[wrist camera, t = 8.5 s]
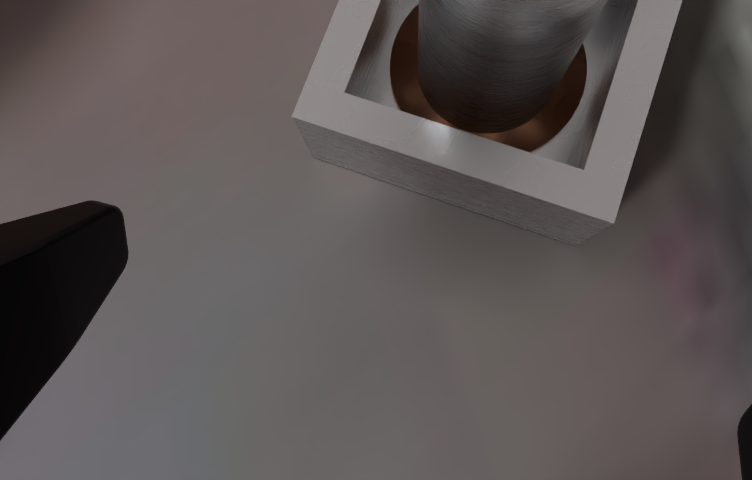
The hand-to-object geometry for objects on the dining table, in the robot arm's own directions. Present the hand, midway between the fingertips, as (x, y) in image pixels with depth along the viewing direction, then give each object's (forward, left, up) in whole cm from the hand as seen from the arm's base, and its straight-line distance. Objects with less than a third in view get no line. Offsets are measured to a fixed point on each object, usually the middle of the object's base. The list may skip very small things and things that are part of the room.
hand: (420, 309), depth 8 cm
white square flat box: (+8, 0, -8) cm, 11 cm away
